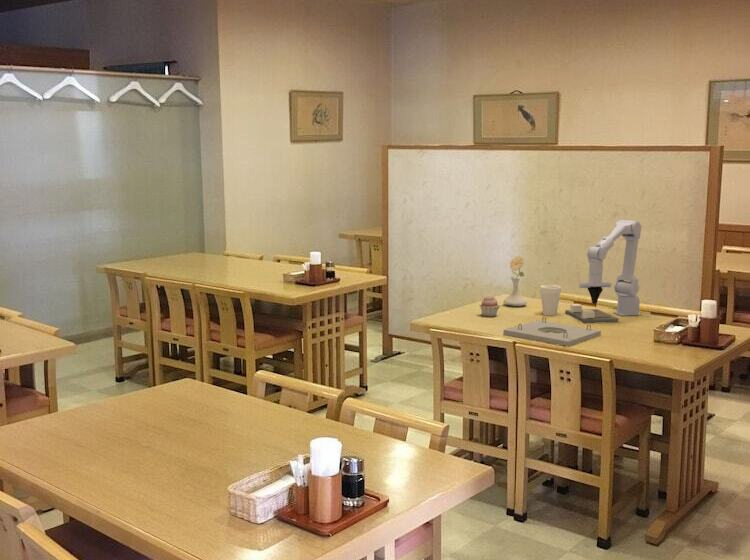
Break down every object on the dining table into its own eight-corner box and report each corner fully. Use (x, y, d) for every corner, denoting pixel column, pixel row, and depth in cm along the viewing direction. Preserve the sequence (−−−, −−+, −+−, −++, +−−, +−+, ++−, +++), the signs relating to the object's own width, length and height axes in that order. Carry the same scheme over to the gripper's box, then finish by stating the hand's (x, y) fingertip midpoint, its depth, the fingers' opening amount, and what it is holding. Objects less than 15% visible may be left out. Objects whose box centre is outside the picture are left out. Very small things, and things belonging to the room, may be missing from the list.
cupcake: (494, 313, 386) (495, 292, 384) (502, 317, 377) (503, 295, 376) (475, 314, 384) (476, 293, 382) (483, 318, 375) (484, 296, 373)
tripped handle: (590, 316, 371) (590, 309, 371) (594, 318, 368) (594, 311, 367) (582, 316, 371) (582, 310, 370) (585, 318, 367) (586, 311, 366)
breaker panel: (597, 312, 389) (597, 308, 389) (618, 322, 368) (618, 318, 367) (565, 313, 386) (565, 309, 386) (584, 323, 365) (584, 319, 365)
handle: (578, 310, 385) (578, 303, 385) (581, 311, 381) (581, 305, 381) (570, 310, 384) (570, 304, 384) (573, 312, 381) (573, 305, 380)
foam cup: (554, 317, 378) (555, 289, 376) (536, 314, 383) (537, 287, 381) (563, 313, 385) (564, 286, 383) (545, 311, 391) (546, 284, 389)
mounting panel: (568, 335, 321) (503, 324, 341) (567, 348, 322) (503, 336, 342) (601, 325, 341) (538, 314, 361) (600, 336, 342) (537, 326, 362)
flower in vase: (499, 303, 409) (500, 254, 405) (520, 302, 412) (521, 253, 408) (511, 308, 396) (512, 257, 392) (532, 307, 400) (534, 256, 396)
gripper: (584, 275, 361) (582, 305, 364) (615, 274, 364) (613, 304, 366) (577, 272, 368) (576, 302, 370) (608, 272, 371) (606, 301, 373)
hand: (594, 303), depth 369 cm, fingers closed
